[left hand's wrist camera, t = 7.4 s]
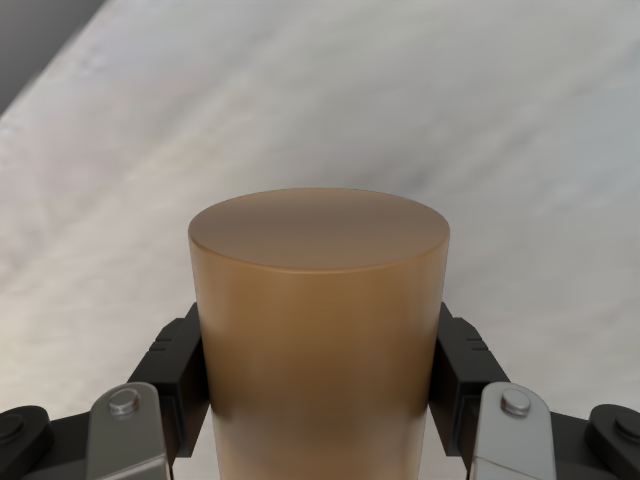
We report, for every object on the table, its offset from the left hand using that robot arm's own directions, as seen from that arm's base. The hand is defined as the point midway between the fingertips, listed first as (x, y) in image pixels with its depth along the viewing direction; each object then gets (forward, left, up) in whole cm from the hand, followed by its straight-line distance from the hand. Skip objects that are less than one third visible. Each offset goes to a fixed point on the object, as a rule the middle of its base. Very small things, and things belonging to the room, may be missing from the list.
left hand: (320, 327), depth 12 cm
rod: (+8, +2, -2) cm, 8 cm away
